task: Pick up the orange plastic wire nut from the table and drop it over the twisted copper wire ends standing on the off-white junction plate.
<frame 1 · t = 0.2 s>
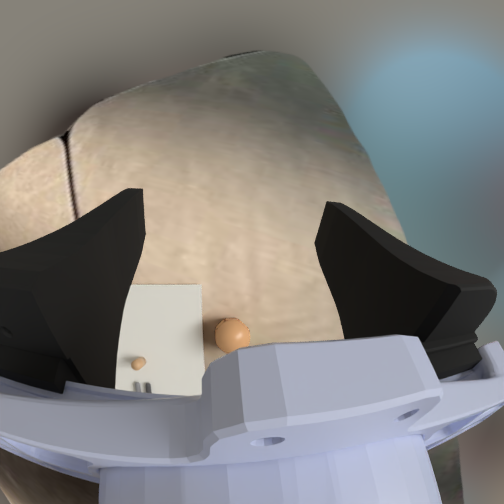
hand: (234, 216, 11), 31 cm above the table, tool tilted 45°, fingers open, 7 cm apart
junction plate: (143, 360, 38), on the table
wire nut: (231, 333, 40), on the table
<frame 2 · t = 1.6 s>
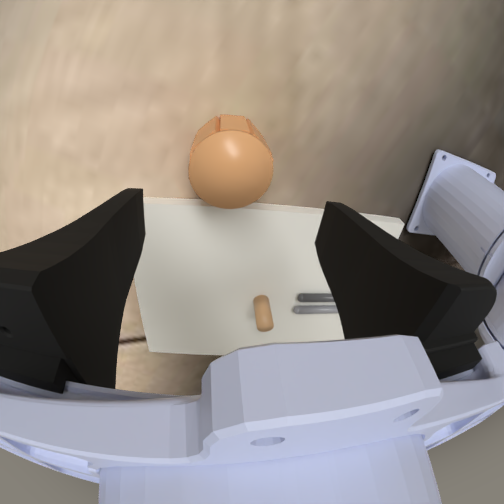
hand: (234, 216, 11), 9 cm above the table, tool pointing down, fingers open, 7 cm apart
junction plate: (259, 292, 27), on the table
wire nut: (228, 147, 18), on the table
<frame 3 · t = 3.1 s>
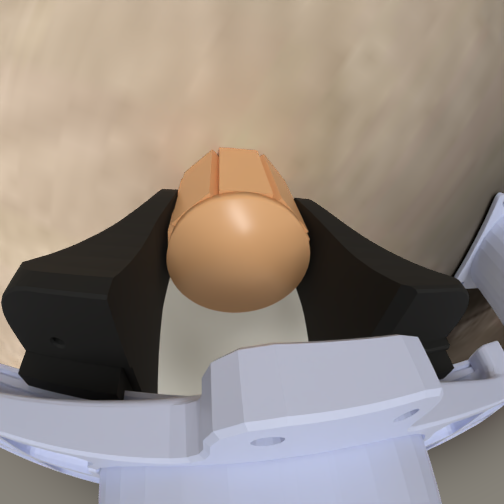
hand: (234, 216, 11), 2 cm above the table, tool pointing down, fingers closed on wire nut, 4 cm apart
junction plate: (270, 362, 21), on the table
wire nut: (232, 197, 12), on the table, touching gripper
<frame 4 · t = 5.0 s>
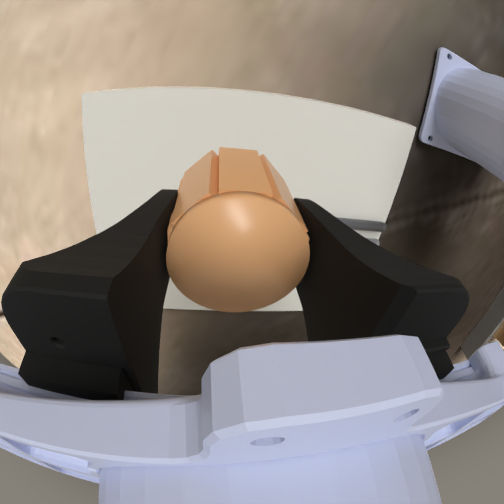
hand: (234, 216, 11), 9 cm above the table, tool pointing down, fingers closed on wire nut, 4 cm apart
junction plate: (244, 216, 21), on the table
wire nut: (232, 197, 12), point 7 cm above the table, touching gripper
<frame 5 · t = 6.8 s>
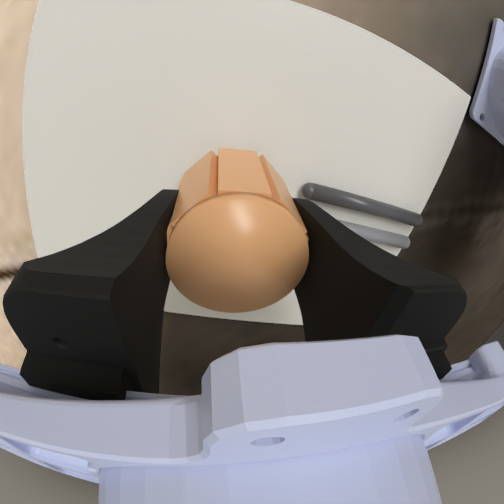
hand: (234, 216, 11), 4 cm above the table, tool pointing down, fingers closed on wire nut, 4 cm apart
junction plate: (230, 179, 14), on the table
wire nut: (231, 197, 12), point 2 cm above the table, touching gripper
when the fingers open (4 cm above the table, at t = 7.1 s): wire nut stays where it is, resting on junction plate.
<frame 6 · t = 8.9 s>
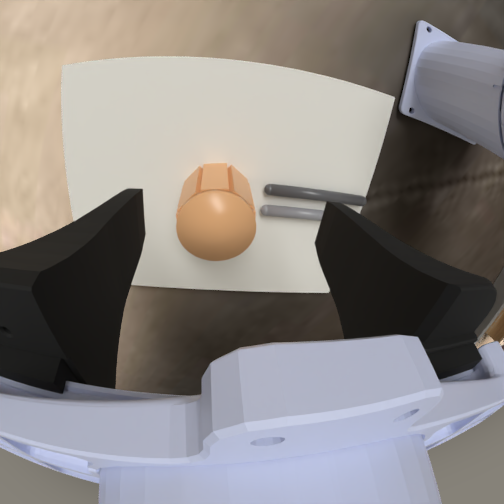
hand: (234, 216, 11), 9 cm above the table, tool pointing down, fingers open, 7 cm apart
junction plate: (216, 187, 20), on the table
wire nut: (216, 193, 20), point 1 cm above the table, touching junction plate
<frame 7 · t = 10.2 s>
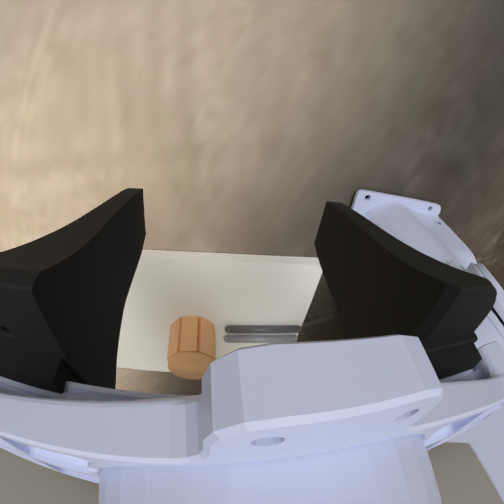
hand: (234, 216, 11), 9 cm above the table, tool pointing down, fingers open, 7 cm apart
junction plate: (193, 322, 29), on the table
wire nut: (193, 330, 28), point 1 cm above the table, touching junction plate
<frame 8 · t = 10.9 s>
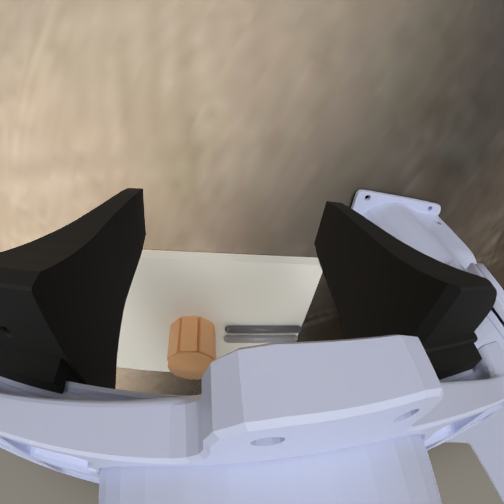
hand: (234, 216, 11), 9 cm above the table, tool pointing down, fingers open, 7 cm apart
junction plate: (193, 322, 29), on the table
wire nut: (193, 330, 28), point 1 cm above the table, touching junction plate
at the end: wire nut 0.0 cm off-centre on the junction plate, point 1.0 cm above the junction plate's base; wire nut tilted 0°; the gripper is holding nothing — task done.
